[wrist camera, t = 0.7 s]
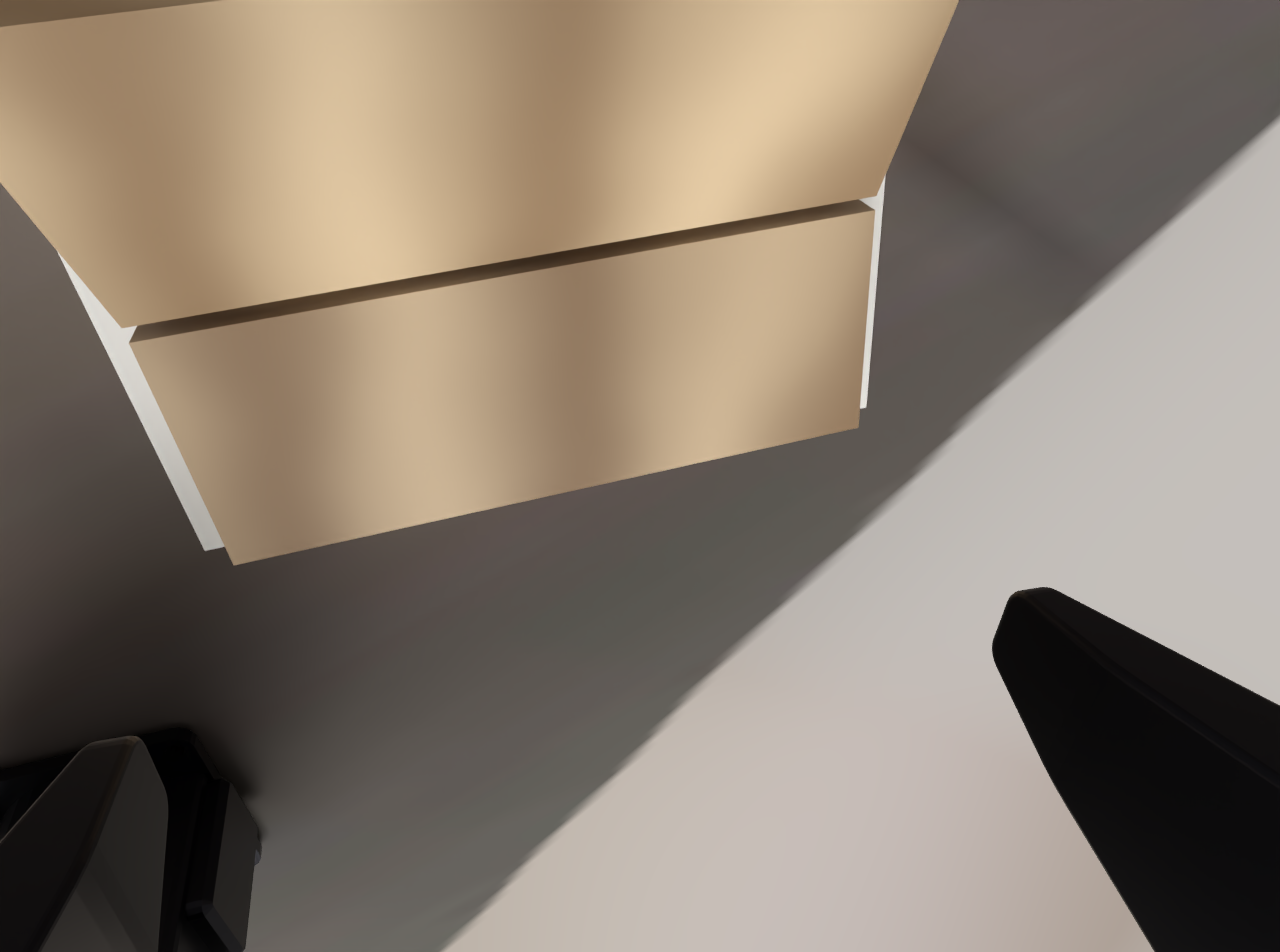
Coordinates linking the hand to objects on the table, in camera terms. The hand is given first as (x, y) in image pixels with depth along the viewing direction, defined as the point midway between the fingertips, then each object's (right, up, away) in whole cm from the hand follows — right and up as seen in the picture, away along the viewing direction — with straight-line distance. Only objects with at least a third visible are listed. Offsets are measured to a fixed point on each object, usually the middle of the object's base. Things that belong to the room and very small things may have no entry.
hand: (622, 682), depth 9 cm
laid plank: (-2, +5, +11) cm, 12 cm away
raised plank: (-2, +9, +6) cm, 11 cm away
